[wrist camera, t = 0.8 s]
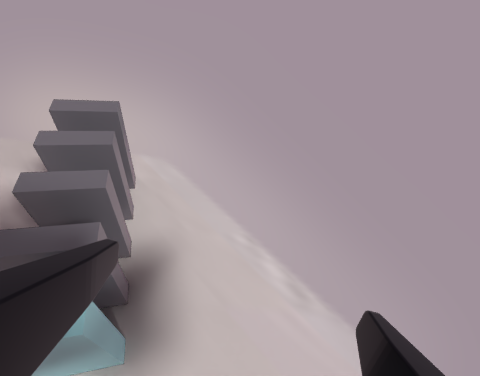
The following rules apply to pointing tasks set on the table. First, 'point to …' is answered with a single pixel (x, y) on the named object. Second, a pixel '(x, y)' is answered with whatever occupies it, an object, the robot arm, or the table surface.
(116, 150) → the domino
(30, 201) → the domino
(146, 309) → the table surface
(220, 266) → the table surface
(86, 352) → the domino
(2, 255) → the domino
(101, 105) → the domino
